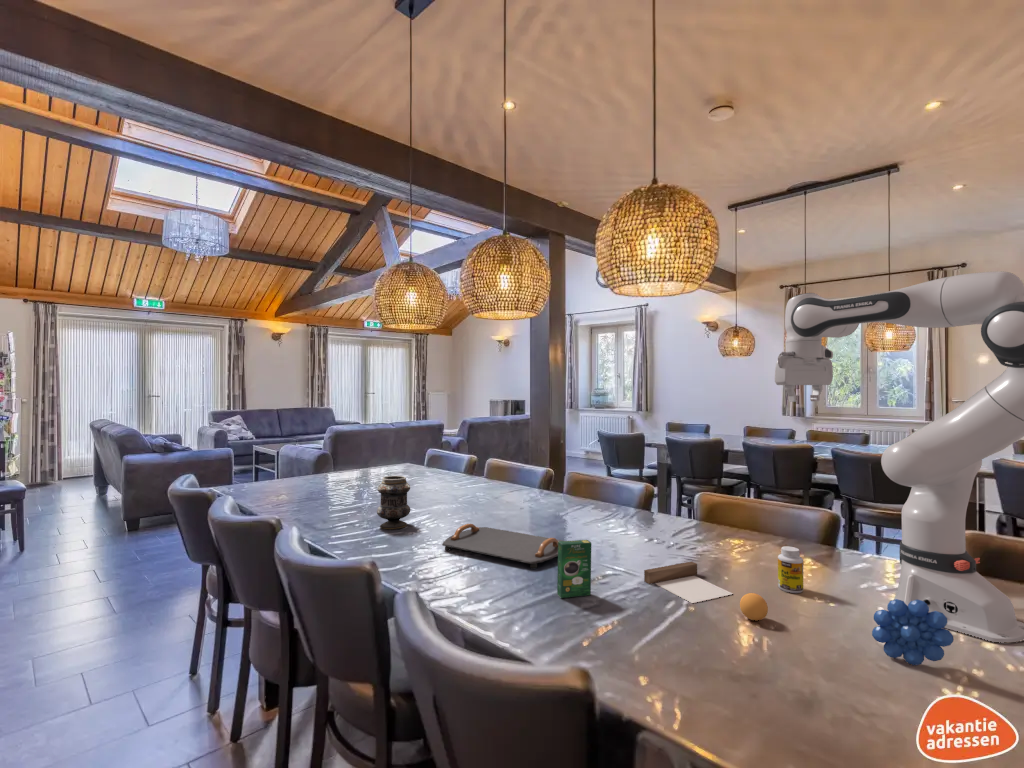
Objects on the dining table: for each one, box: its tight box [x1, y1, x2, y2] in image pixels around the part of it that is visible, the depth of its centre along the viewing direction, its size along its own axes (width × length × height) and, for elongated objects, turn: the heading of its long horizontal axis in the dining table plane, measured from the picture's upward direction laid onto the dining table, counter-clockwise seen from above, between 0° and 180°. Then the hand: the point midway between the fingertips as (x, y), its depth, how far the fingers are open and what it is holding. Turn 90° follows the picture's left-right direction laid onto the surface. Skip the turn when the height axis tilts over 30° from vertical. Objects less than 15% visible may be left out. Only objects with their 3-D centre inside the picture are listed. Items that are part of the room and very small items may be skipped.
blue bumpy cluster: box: [871, 599, 955, 666], centre depth 91 cm, size 12×7×12 cm, turn 47°
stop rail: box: [643, 561, 698, 585], centre depth 132 cm, size 2×16×3 cm, turn 113°
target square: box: [654, 575, 734, 604], centre depth 125 cm, size 13×13×1 cm
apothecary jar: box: [376, 475, 411, 530], centre depth 185 cm, size 12×12×18 cm
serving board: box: [441, 523, 564, 569], centre depth 157 cm, size 39×23×6 cm, turn 58°
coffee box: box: [556, 539, 592, 599], centre depth 122 cm, size 8×3×13 cm, turn 104°
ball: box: [739, 592, 769, 622], centre depth 109 cm, size 6×6×6 cm
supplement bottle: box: [777, 545, 804, 594], centre depth 125 cm, size 6×6×10 cm
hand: (804, 401), depth 140 cm, fingers open, 8 cm apart
